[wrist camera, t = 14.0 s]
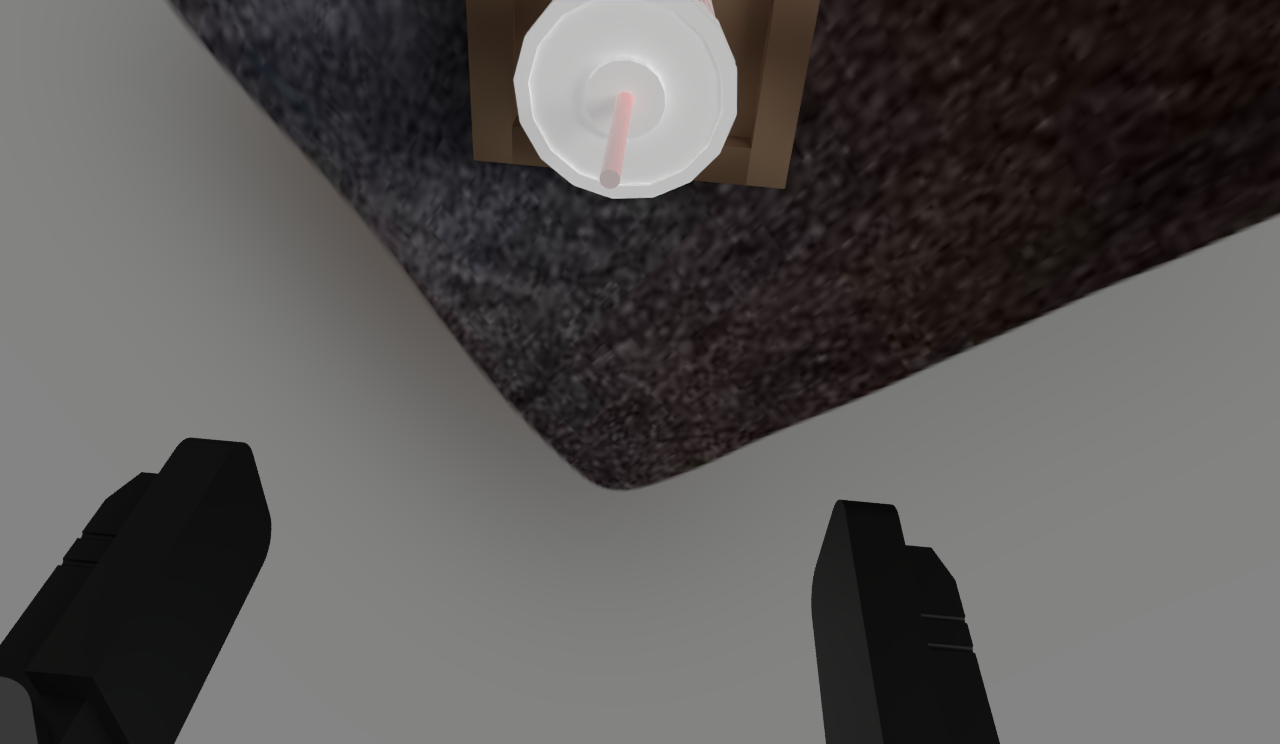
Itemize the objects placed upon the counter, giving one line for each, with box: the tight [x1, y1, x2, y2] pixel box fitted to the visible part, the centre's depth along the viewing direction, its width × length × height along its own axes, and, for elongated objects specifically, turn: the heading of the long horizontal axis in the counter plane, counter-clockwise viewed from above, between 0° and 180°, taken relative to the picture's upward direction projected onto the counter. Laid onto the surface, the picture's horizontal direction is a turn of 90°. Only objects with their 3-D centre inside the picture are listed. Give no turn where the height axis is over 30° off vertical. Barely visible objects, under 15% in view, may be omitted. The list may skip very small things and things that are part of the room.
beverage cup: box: [513, 0, 737, 199], centre depth 26 cm, size 6×6×14 cm
